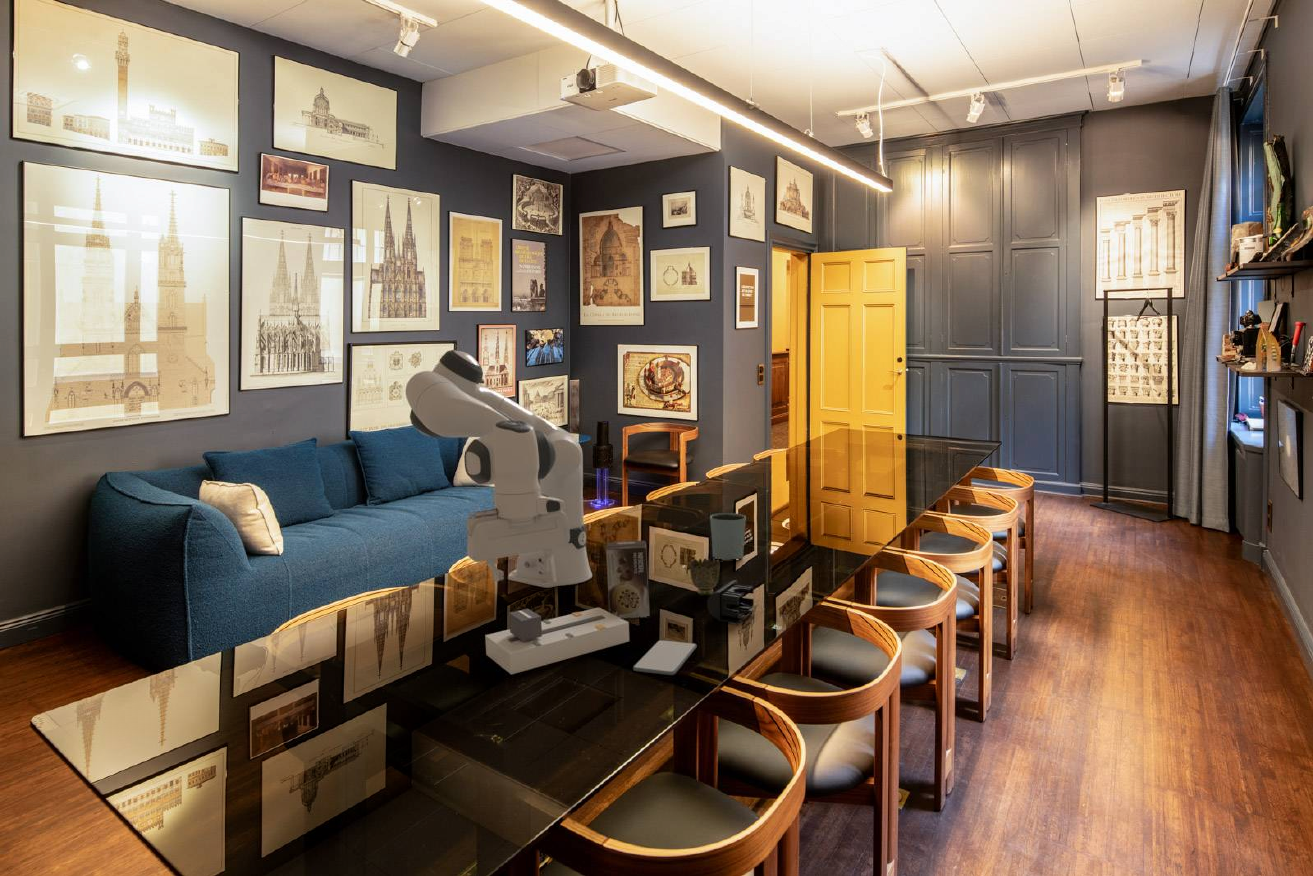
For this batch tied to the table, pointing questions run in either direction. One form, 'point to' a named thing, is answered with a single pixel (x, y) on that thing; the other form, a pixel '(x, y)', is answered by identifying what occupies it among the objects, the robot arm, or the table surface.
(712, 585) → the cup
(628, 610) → the coffee box
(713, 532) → the blue plant pot
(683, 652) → the smartphone
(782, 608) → the table surface
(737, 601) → the end cap
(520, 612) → the fader knob
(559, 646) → the fader console
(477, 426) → the robot arm
